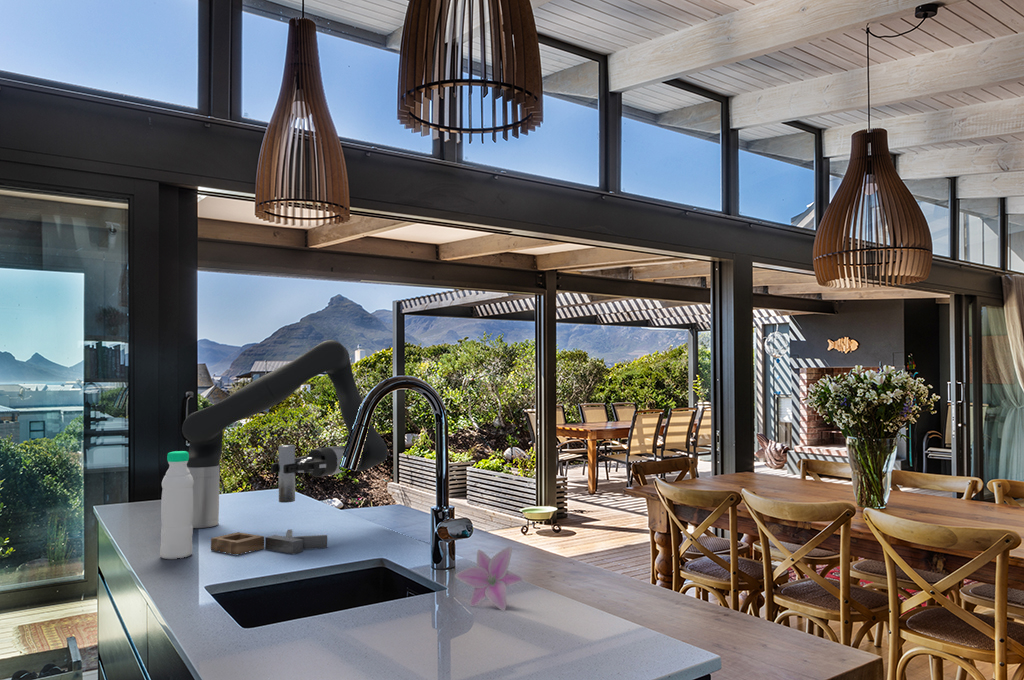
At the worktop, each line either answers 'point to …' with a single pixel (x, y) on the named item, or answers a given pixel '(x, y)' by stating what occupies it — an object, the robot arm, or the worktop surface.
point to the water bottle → (177, 508)
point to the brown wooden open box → (237, 543)
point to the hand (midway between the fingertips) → (278, 468)
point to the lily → (490, 578)
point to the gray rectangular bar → (286, 479)
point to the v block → (294, 543)
